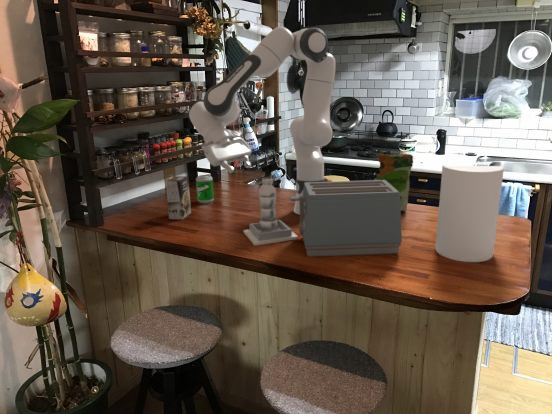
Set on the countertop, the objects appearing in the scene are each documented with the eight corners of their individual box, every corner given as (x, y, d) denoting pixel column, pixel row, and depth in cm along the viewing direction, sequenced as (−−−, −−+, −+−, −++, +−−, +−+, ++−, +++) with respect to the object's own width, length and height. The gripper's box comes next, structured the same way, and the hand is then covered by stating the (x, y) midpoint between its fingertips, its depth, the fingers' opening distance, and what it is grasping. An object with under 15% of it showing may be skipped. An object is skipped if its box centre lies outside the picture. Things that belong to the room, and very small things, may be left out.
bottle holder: (284, 226, 174) (284, 218, 173) (298, 239, 161) (297, 229, 160) (243, 232, 169) (243, 223, 168) (254, 245, 156) (254, 236, 155)
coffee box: (183, 219, 185) (180, 181, 180) (168, 219, 186) (164, 180, 182) (191, 213, 193) (188, 175, 189) (177, 212, 195) (174, 175, 190)
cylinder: (500, 263, 137) (511, 172, 129) (439, 260, 140) (447, 171, 132) (485, 242, 153) (494, 160, 145) (431, 240, 156) (438, 160, 148)
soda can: (205, 198, 215) (203, 173, 211) (217, 200, 210) (215, 175, 207) (194, 202, 209) (192, 176, 205) (206, 204, 205) (204, 178, 201)
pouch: (412, 213, 185) (416, 152, 178) (389, 218, 180) (392, 155, 173) (394, 206, 195) (397, 148, 187) (371, 211, 190) (374, 151, 182)
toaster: (289, 237, 163) (288, 182, 157) (385, 234, 164) (388, 178, 158) (293, 258, 145) (292, 196, 139) (401, 254, 146) (405, 193, 140)
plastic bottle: (272, 236, 160) (270, 180, 156) (256, 233, 164) (254, 178, 159) (281, 231, 166) (280, 177, 161) (265, 228, 169) (264, 175, 164)
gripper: (203, 138, 157) (226, 169, 155) (241, 131, 173) (262, 159, 171) (195, 150, 161) (217, 180, 159) (232, 142, 177) (253, 169, 174)
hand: (241, 169), depth 165 cm, fingers open, 8 cm apart
